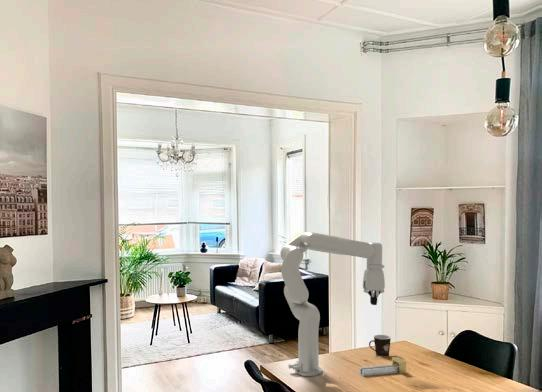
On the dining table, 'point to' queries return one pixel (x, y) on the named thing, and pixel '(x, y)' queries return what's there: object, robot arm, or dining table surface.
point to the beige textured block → (400, 364)
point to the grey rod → (377, 367)
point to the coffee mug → (381, 345)
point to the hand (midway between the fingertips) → (373, 304)
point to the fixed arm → (380, 371)
